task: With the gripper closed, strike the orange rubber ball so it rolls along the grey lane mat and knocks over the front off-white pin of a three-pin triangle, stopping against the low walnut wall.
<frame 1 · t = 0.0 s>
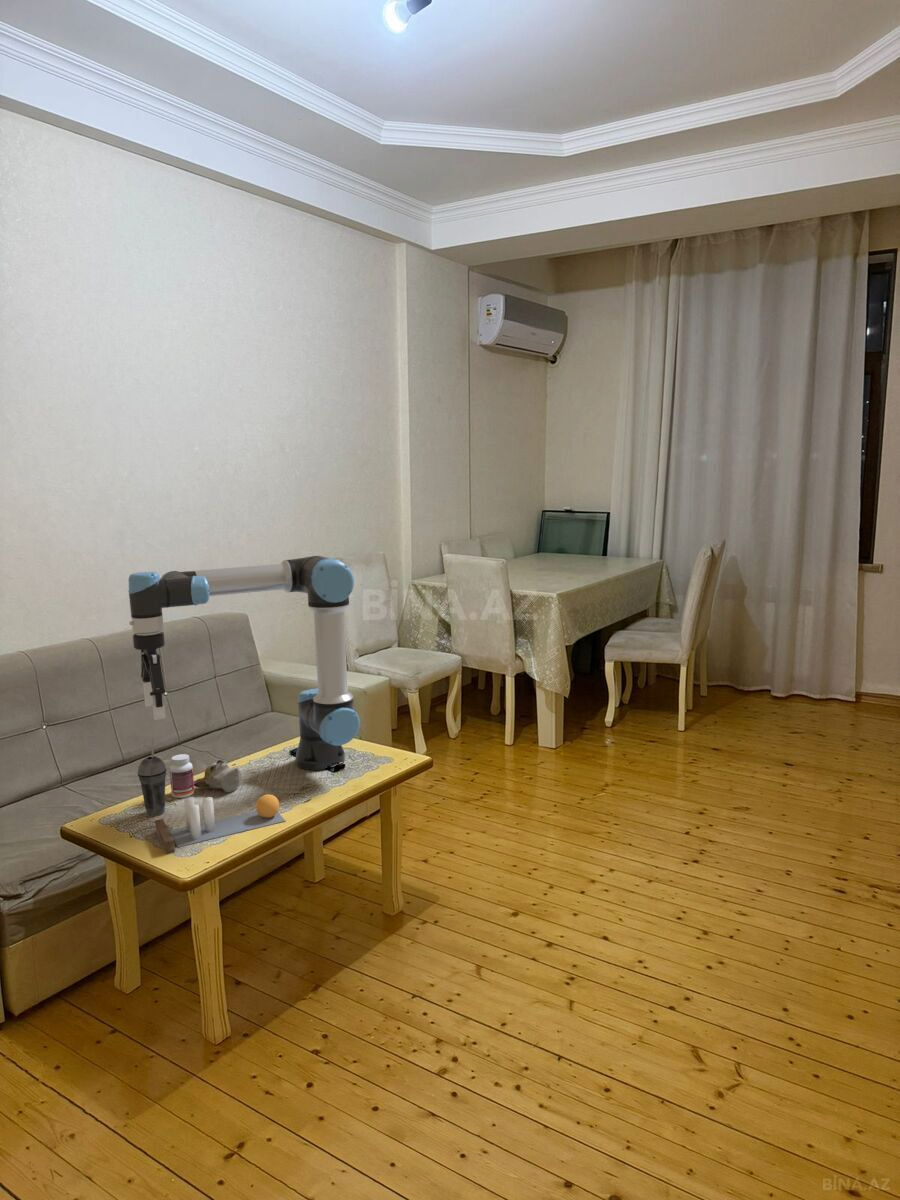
hand: (155, 712, 209), 28 cm above the table, fingers open, 13 cm apart
front pin: (210, 830, 202), on the table
ceramic sculpture: (220, 788, 230), on the table
beverage cup: (155, 813, 213), on the table
lane mat: (228, 826, 204), on the table
back wall: (165, 841, 197), on the table
pill bottle: (183, 794, 226), on the table
ball: (267, 806, 209), on the table
back pin right: (192, 830, 202), on the table
back pin left: (196, 838, 198), on the table
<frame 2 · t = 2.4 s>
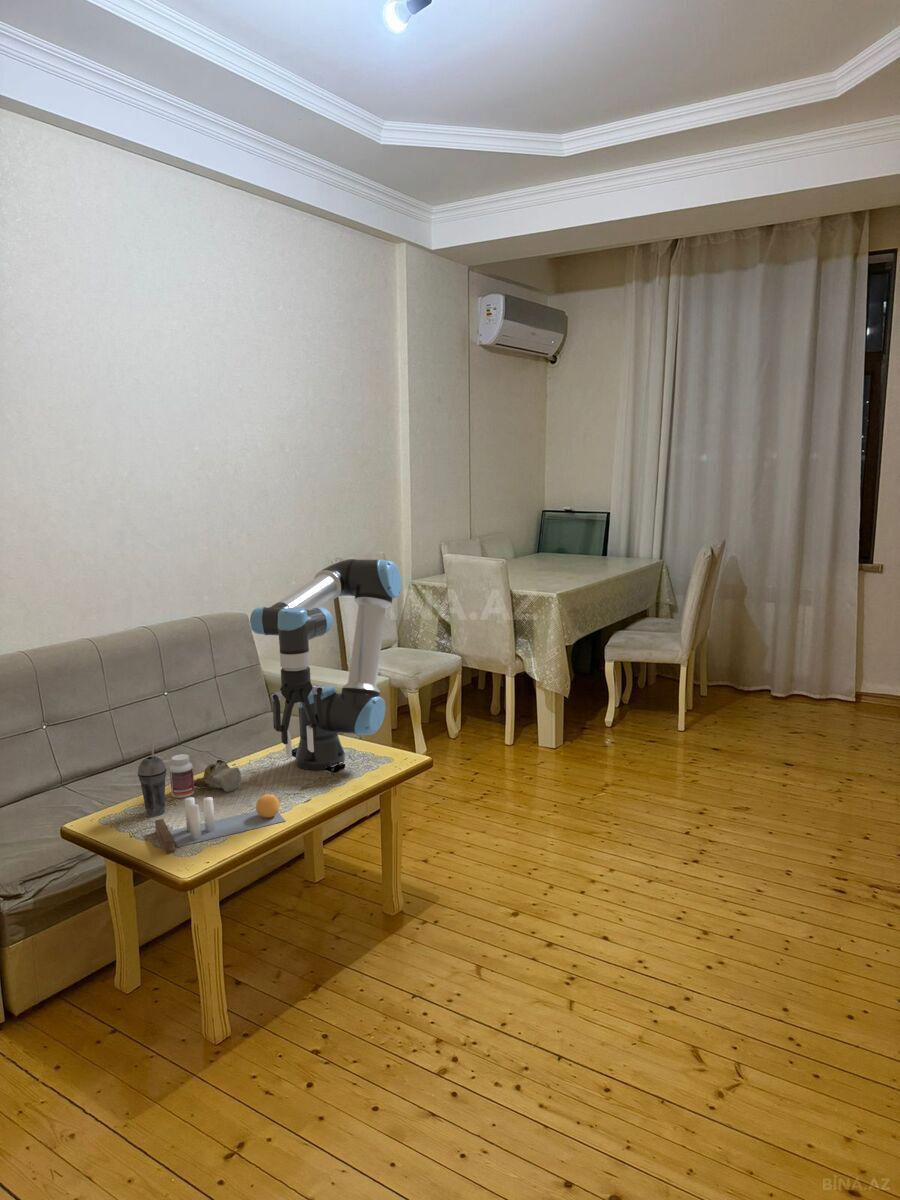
hand: (299, 752, 211), 16 cm above the table, fingers open, 5 cm apart
nothing on the table moved.
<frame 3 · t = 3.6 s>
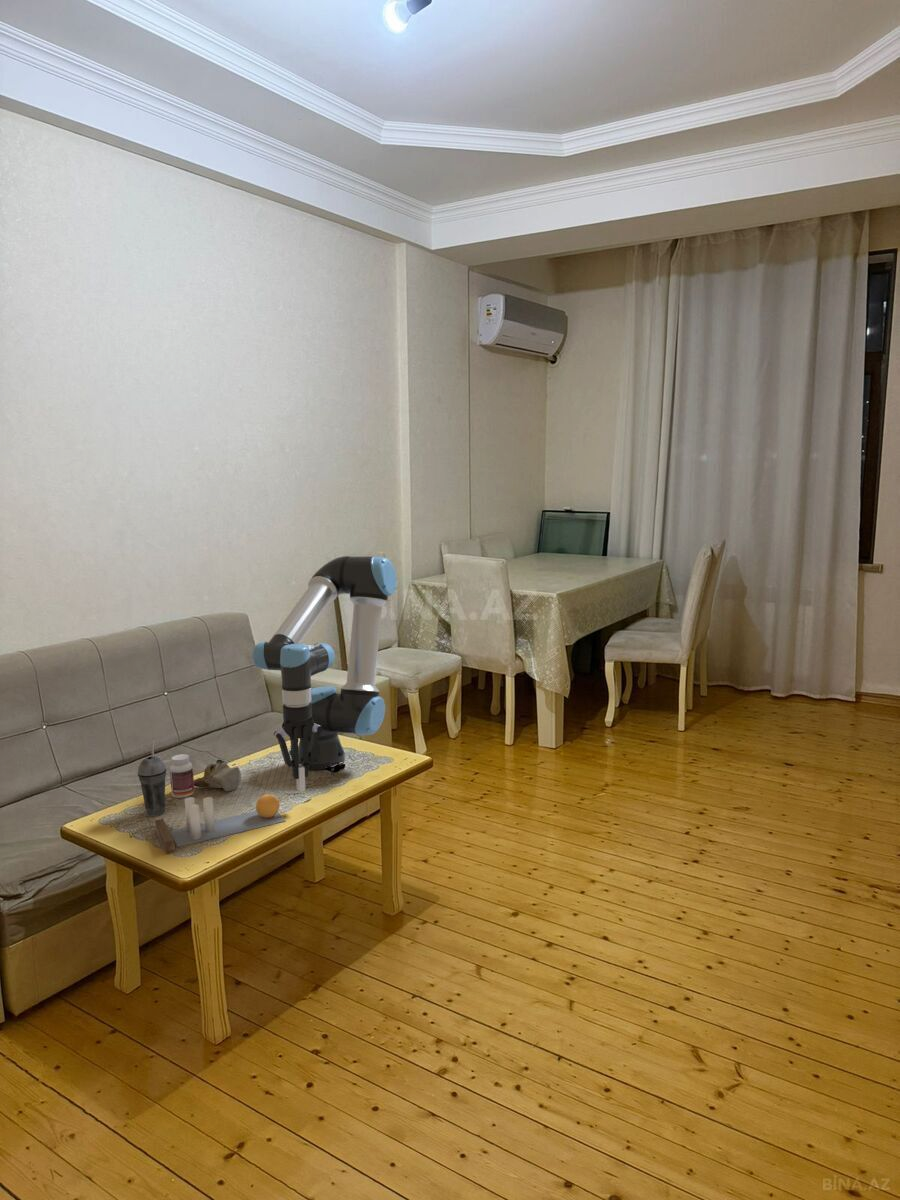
hand: (301, 789, 212), 6 cm above the table, fingers closed
nothing on the table moved.
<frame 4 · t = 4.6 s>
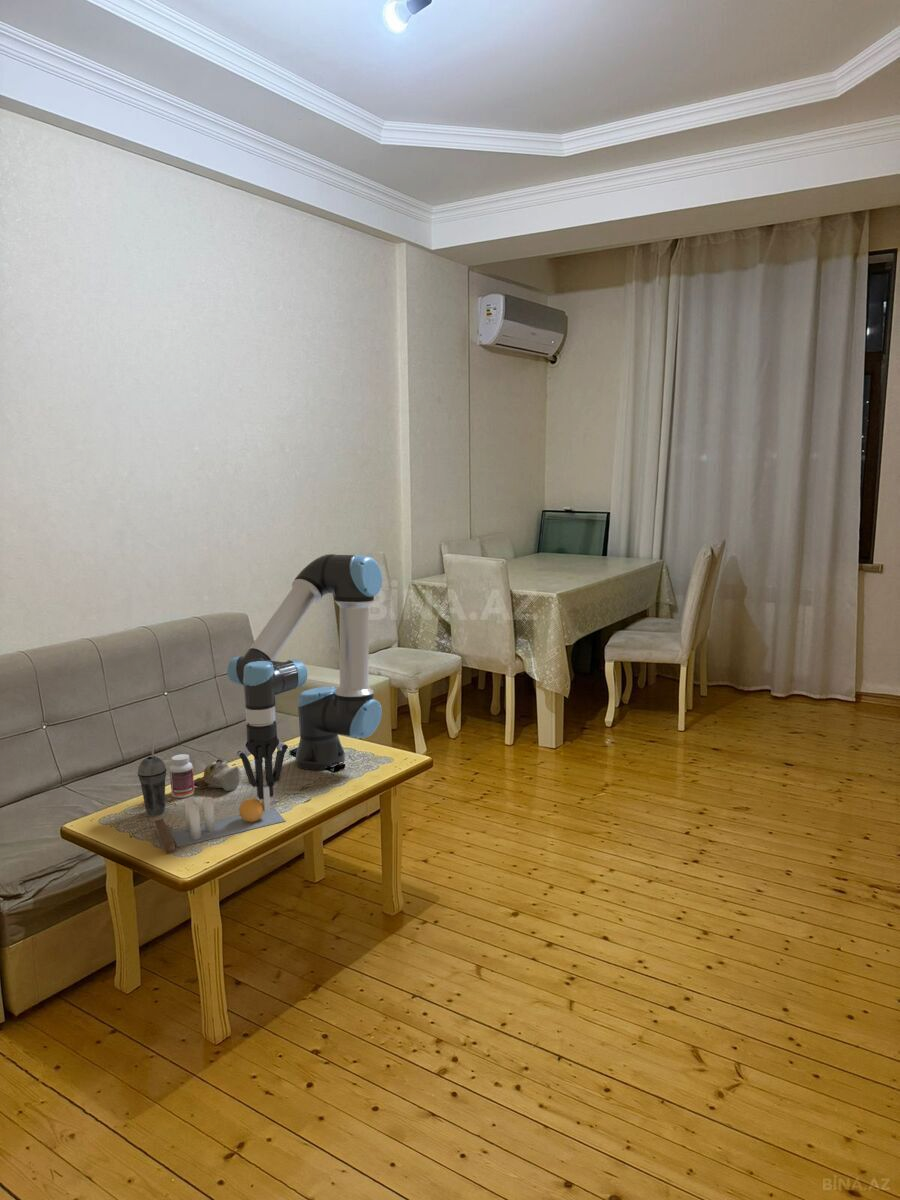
hand: (266, 809, 208), 2 cm above the table, fingers closed
ball: (251, 810, 206), on the table
everything else where it was.
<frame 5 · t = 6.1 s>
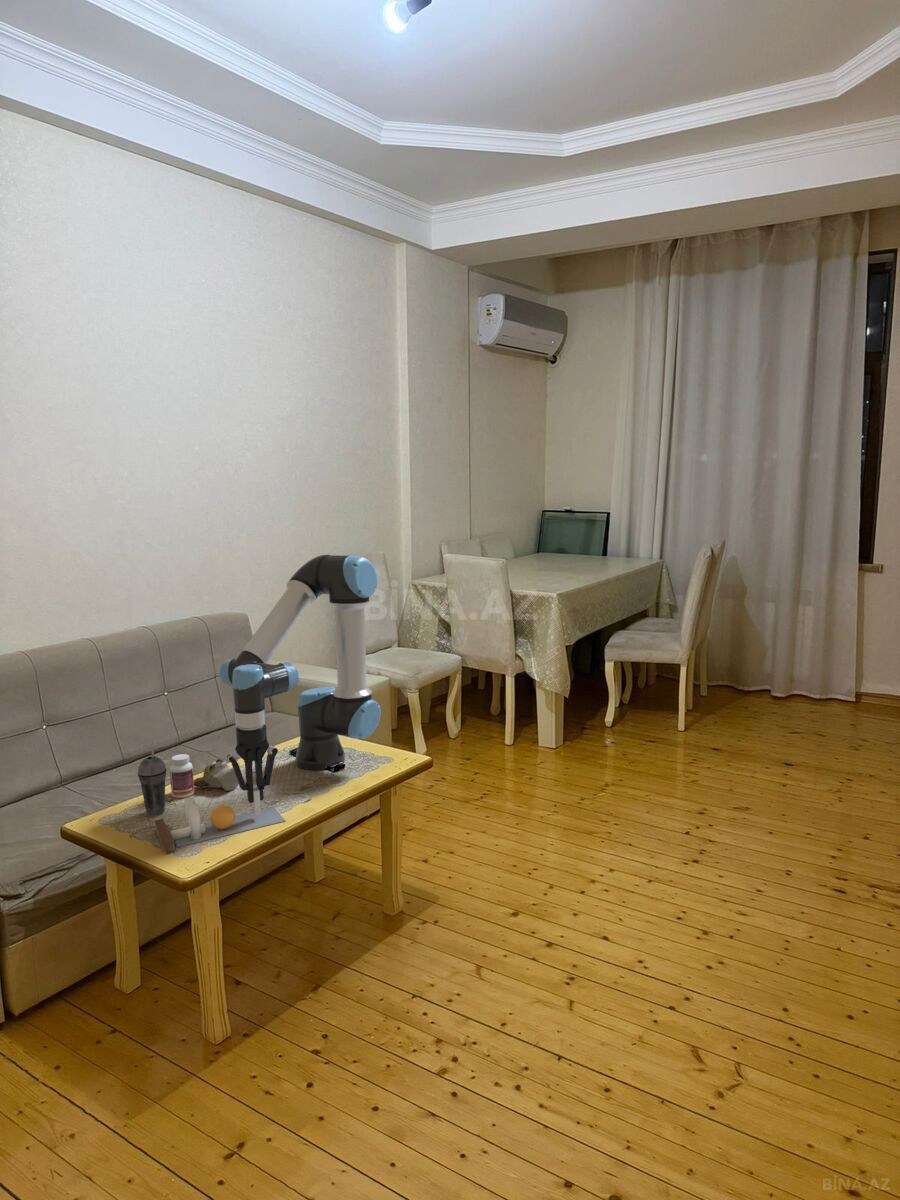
hand: (256, 812, 207), 2 cm above the table, fingers closed
front pin: (204, 828, 201), point 1 cm above the table, tilted 90°
ball: (222, 817, 203), on the table
everything else where it was.
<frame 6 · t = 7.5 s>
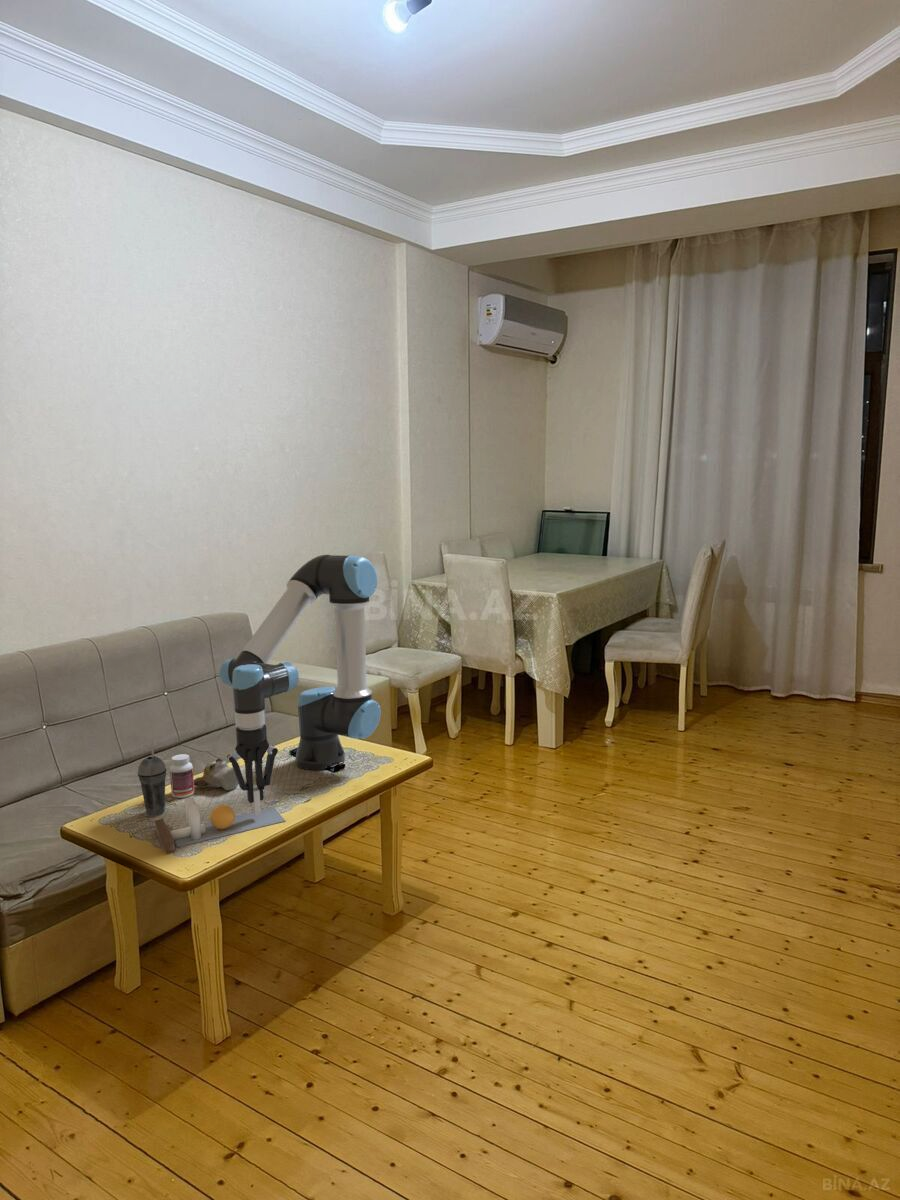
hand: (256, 812, 207), 2 cm above the table, fingers closed
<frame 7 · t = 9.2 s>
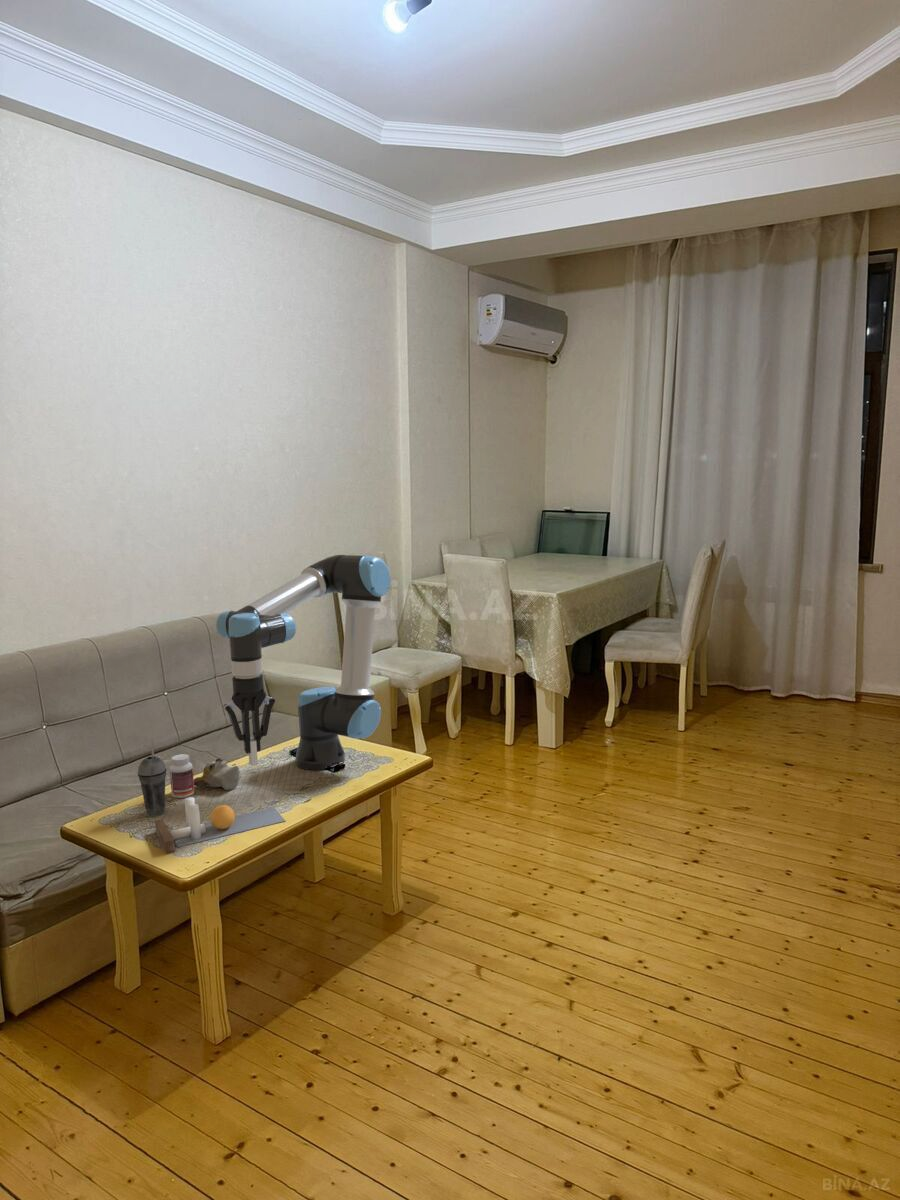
hand: (253, 763, 205), 15 cm above the table, fingers closed
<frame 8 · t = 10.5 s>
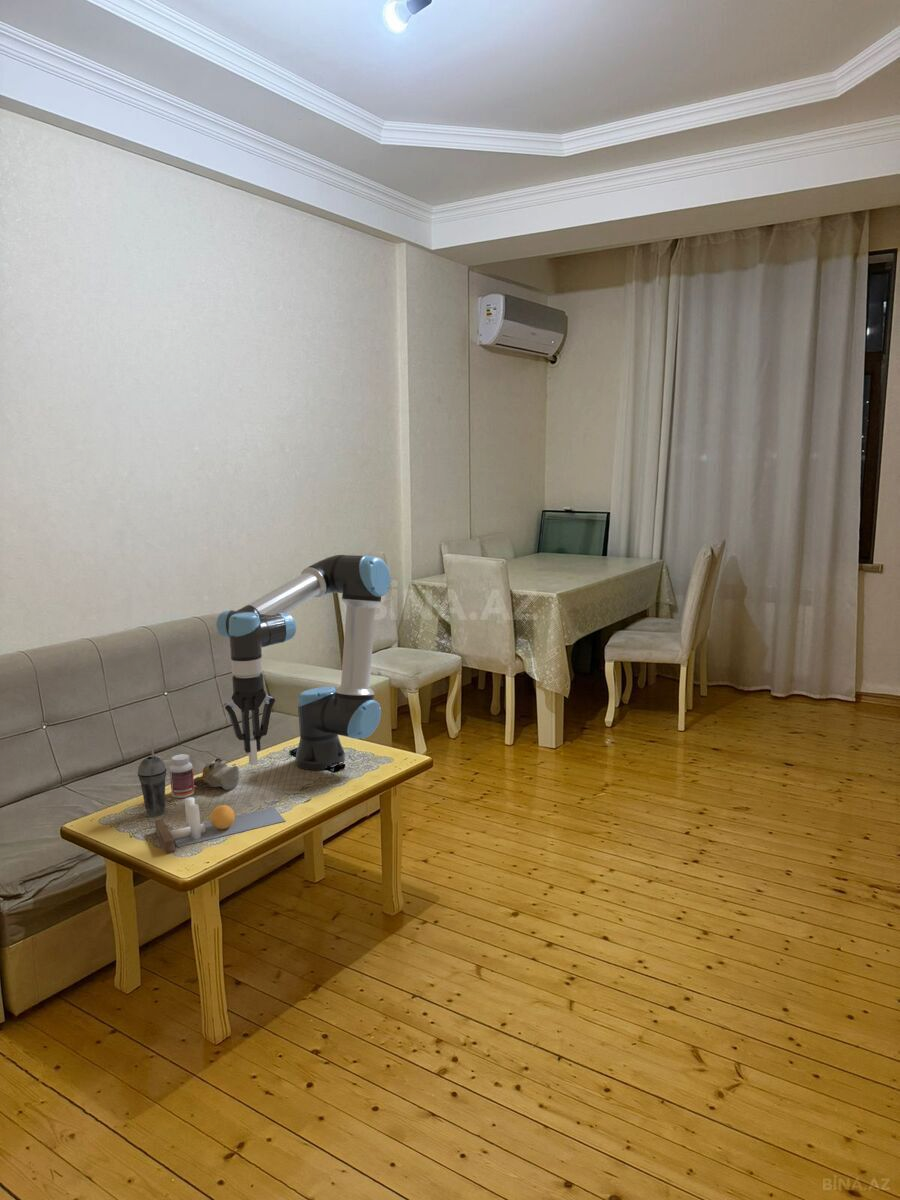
hand: (253, 763, 205), 15 cm above the table, fingers closed
at the end: front pin tilted 90°; front pin never touched the robot; ball moved 11.8 cm from its start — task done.
